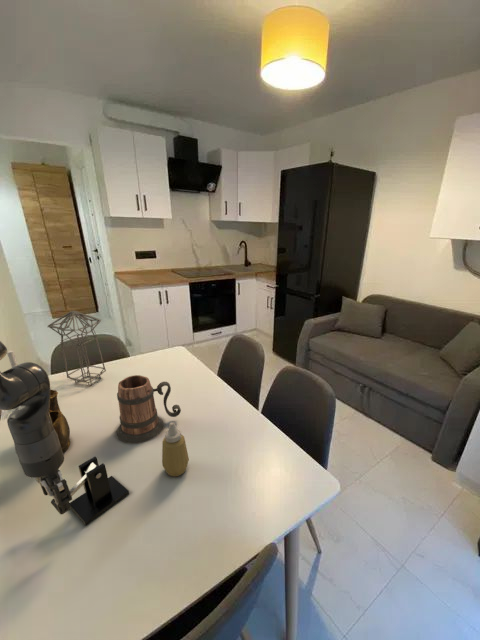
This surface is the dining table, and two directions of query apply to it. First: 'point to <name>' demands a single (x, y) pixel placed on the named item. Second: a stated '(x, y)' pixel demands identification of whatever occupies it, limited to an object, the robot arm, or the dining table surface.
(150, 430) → the tankard
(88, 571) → the dining table surface
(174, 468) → the squeeze bottle
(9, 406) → the robot arm
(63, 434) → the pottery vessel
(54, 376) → the dining table surface
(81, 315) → the geometric lantern
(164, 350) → the dining table surface
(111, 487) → the bracket
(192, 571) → the dining table surface
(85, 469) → the lever
